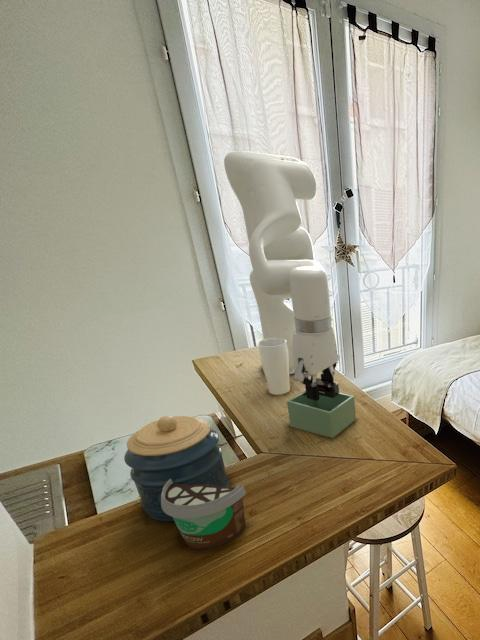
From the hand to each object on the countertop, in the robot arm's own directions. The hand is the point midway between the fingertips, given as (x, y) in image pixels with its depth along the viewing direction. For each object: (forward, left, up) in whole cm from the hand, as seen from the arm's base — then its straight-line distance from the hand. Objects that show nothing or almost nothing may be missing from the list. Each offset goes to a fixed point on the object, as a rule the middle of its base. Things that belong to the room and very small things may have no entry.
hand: (320, 393), depth 97 cm
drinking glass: (-8, -21, -9) cm, 24 cm away
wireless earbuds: (0, 0, -1) cm, 1 cm away
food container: (+37, +6, -9) cm, 39 cm away
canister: (+31, -5, -9) cm, 32 cm away
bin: (0, 0, -8) cm, 8 cm away
